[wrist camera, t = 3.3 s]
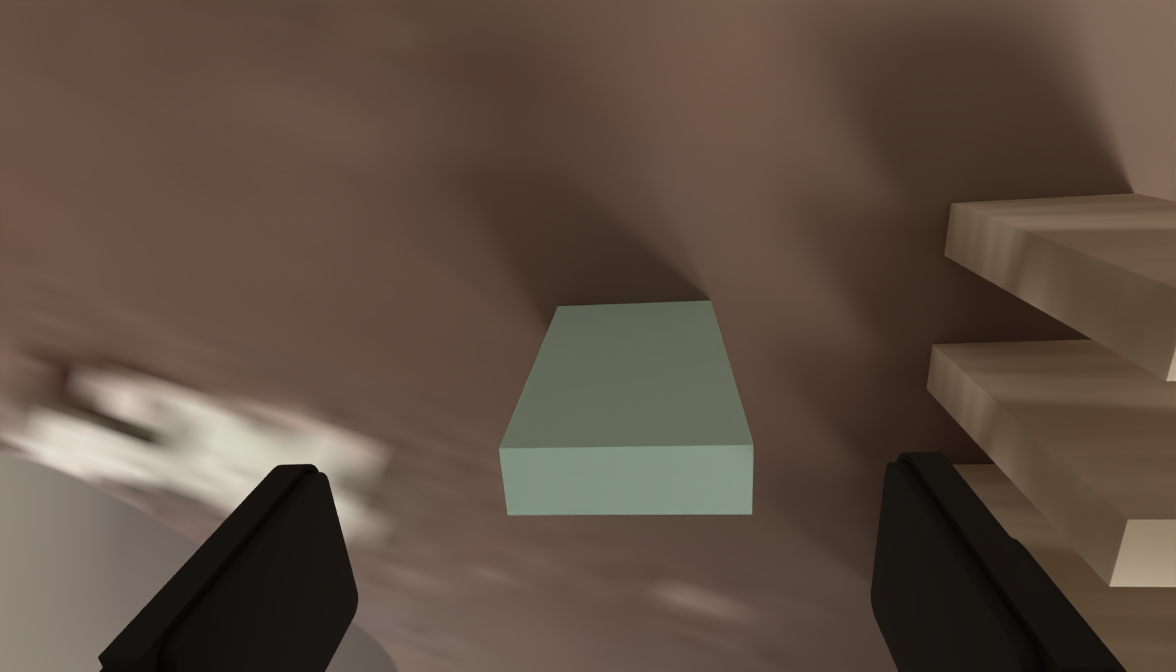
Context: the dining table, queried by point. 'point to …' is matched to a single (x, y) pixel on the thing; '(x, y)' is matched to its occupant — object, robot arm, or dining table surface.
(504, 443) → the domino
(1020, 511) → the domino
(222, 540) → the robot arm
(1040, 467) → the domino
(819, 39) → the dining table surface
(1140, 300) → the domino
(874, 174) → the dining table surface
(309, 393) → the dining table surface
